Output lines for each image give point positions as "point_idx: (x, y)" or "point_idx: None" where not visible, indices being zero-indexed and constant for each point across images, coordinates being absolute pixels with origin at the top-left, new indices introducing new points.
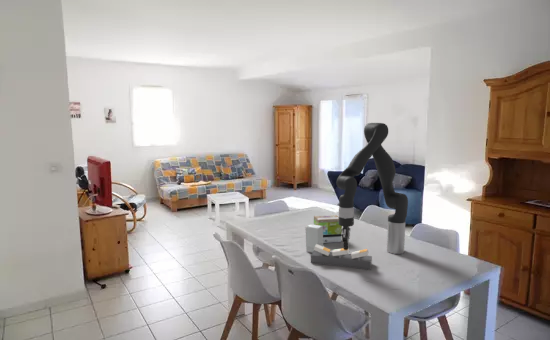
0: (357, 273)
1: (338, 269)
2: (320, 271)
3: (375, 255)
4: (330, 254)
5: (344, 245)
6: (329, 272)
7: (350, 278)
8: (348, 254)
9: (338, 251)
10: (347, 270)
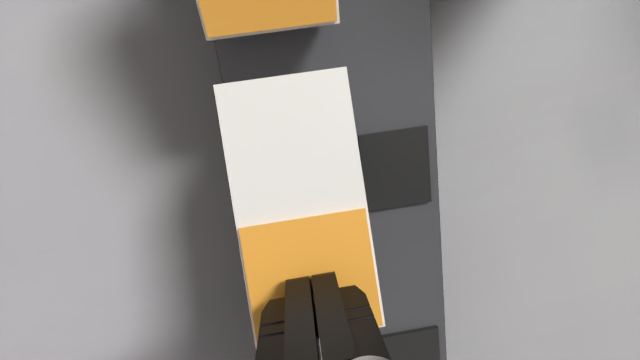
0: (170, 345)
1: (166, 184)
2: (3, 33)
3: (613, 350)
4: (327, 31)
5: (258, 351)
6: (41, 131)
7: (33, 331)
8: (418, 237)
9: (232, 197)
10: (188, 261)
